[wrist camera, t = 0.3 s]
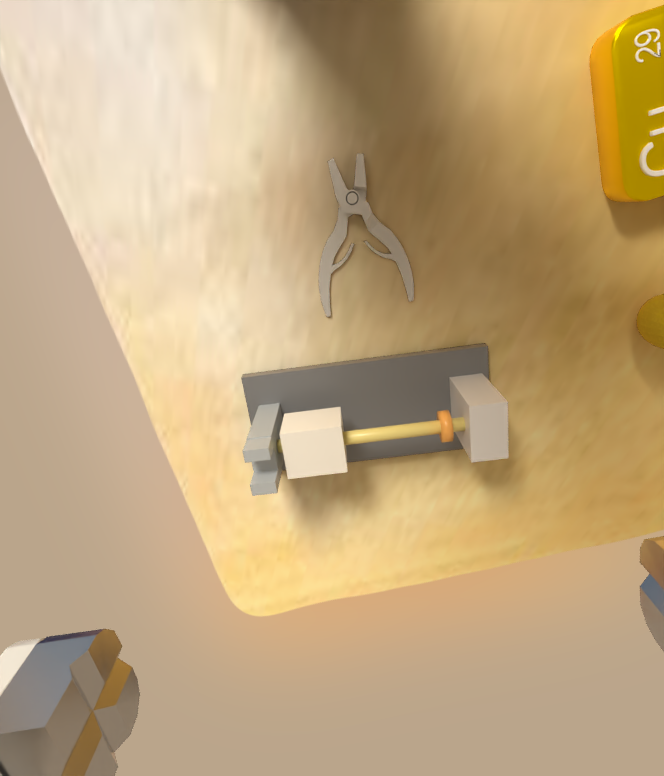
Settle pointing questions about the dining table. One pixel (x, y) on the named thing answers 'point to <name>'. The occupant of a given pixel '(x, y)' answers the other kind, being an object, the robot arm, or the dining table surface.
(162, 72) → the dining table surface
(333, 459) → the sleeve
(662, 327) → the lemon
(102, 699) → the robot arm
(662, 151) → the element tile
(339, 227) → the pliers
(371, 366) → the cord rig
